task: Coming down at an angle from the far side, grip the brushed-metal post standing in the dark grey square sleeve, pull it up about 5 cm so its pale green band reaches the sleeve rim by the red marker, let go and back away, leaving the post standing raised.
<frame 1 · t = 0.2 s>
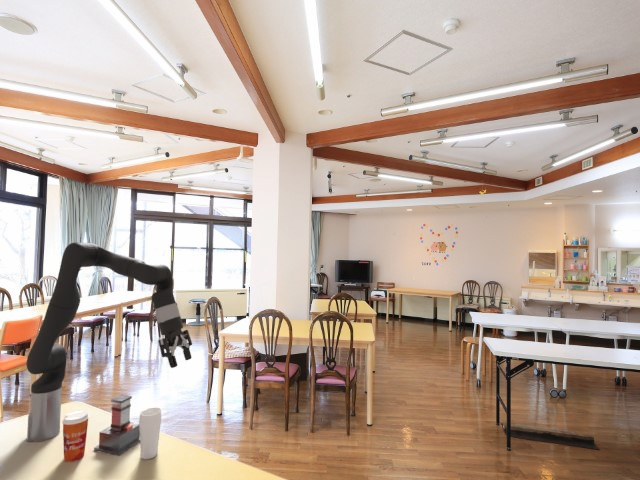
hand: (181, 363, 122), 31 cm above the table, tool tilted 20°, fingers open, 8 cm apart
paper cup: (74, 457, 118), on the table
sleeve: (119, 445, 125), on the table
column: (120, 420, 126), point 9 cm above the table, slide at 0.0 cm
drinking glass: (148, 456, 119), on the table
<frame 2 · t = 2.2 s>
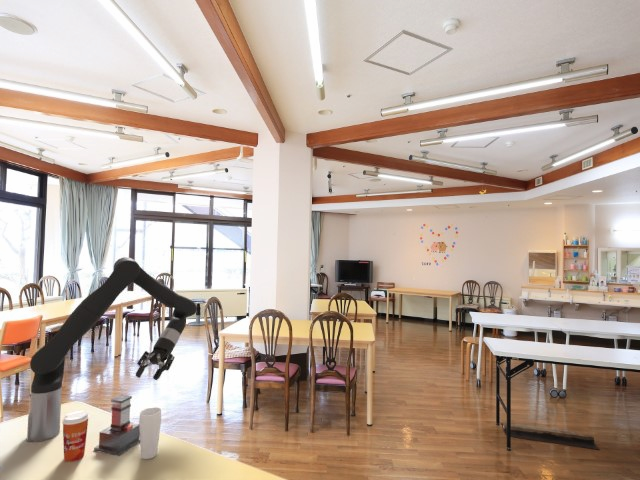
hand: (146, 378, 137), 20 cm above the table, tool tilted 45°, fingers open, 8 cm apart
nothing on the table moved.
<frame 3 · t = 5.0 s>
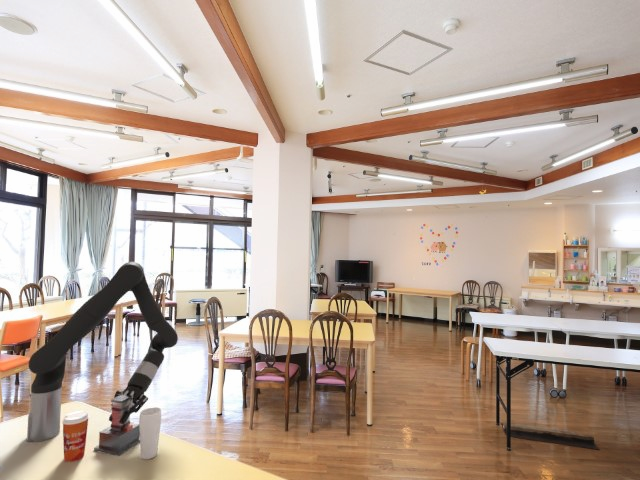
hand: (116, 422, 124), 9 cm above the table, tool tilted 45°, fingers closed on column, 4 cm apart
column: (120, 420, 126), point 9 cm above the table, slide at 0.0 cm, touching gripper
everything else where it was.
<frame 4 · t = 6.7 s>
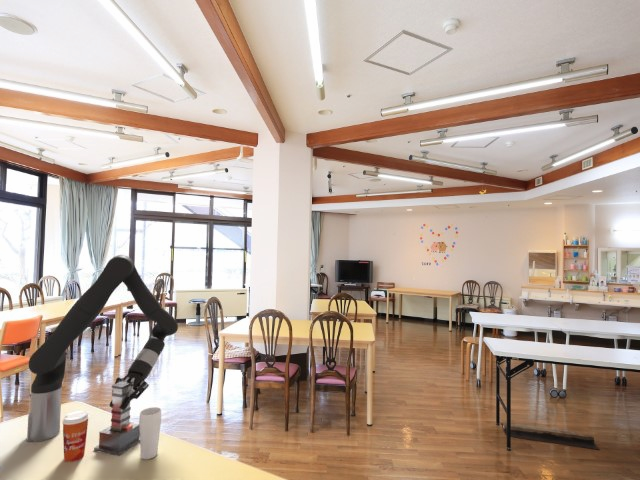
hand: (116, 407, 124), 14 cm above the table, tool tilted 45°, fingers closed on column, 4 cm apart
column: (121, 407, 126), point 13 cm above the table, slide at 4.9 cm, touching gripper
everything else where it was.
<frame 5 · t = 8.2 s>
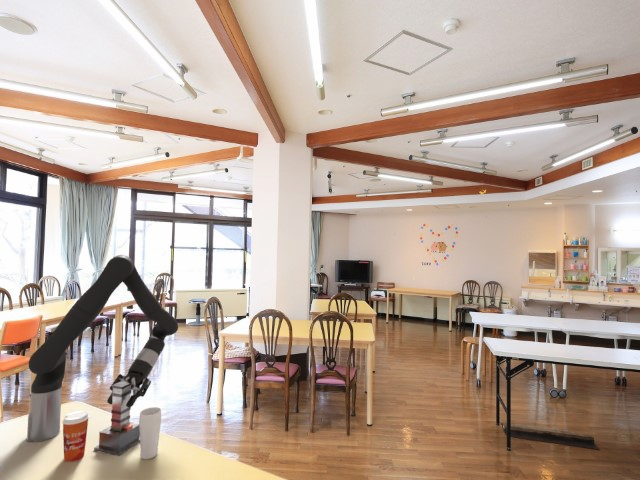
hand: (118, 405, 125), 15 cm above the table, tool tilted 45°, fingers open, 8 cm apart
column: (121, 406, 126), point 14 cm above the table, slide at 5.0 cm
everything else where it was.
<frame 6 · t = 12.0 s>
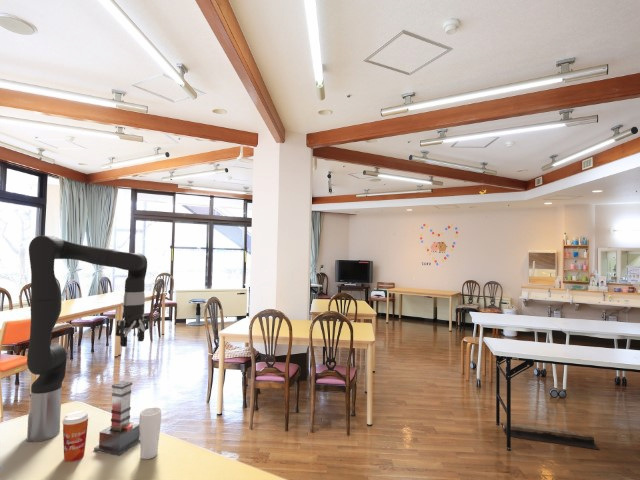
hand: (132, 343, 139), 33 cm above the table, tool pointing down, fingers open, 8 cm apart
nothing on the table moved.
at the end: column slide at 5.0 cm; the gripper is holding nothing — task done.
